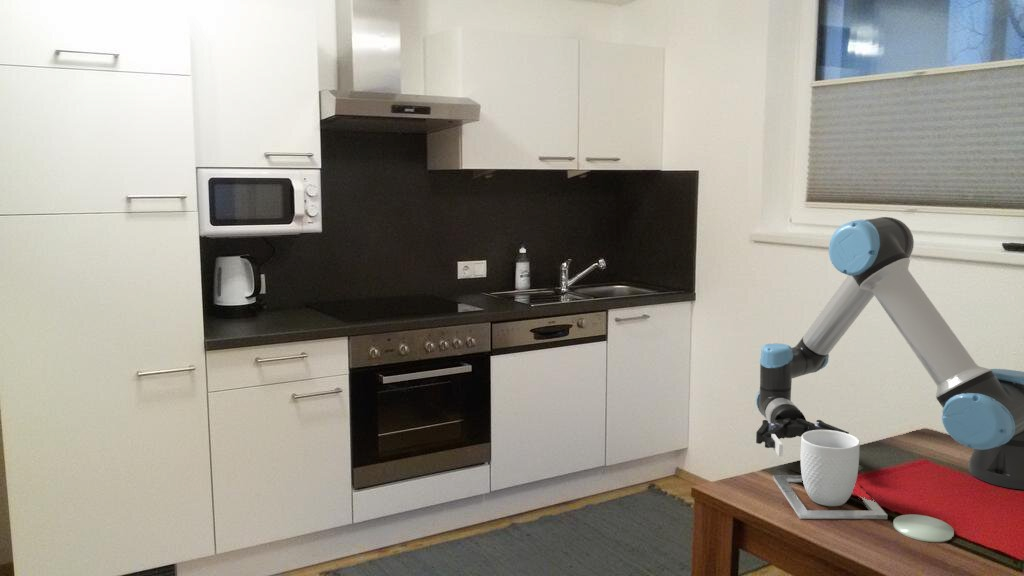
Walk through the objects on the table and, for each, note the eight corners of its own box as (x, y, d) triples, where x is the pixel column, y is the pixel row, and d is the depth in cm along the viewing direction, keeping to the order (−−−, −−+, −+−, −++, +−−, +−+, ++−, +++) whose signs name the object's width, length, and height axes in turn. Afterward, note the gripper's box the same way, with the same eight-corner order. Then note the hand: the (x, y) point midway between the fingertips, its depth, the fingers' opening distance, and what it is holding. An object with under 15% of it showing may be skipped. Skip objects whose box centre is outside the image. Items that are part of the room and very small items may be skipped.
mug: (791, 480, 170) (793, 422, 168) (845, 482, 168) (847, 424, 166) (804, 510, 156) (806, 447, 154) (863, 513, 154) (866, 449, 152)
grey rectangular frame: (850, 478, 170) (850, 475, 170) (887, 519, 151) (887, 515, 151) (772, 478, 171) (773, 475, 171) (799, 518, 152) (800, 514, 152)
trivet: (938, 517, 151) (938, 514, 151) (964, 542, 141) (964, 539, 141) (884, 517, 152) (884, 514, 152) (907, 542, 142) (907, 538, 142)
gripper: (837, 433, 190) (871, 466, 169) (732, 433, 191) (753, 466, 170) (839, 403, 189) (873, 433, 168) (733, 403, 190) (754, 433, 169)
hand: (813, 450), depth 169 cm, fingers open, 13 cm apart
